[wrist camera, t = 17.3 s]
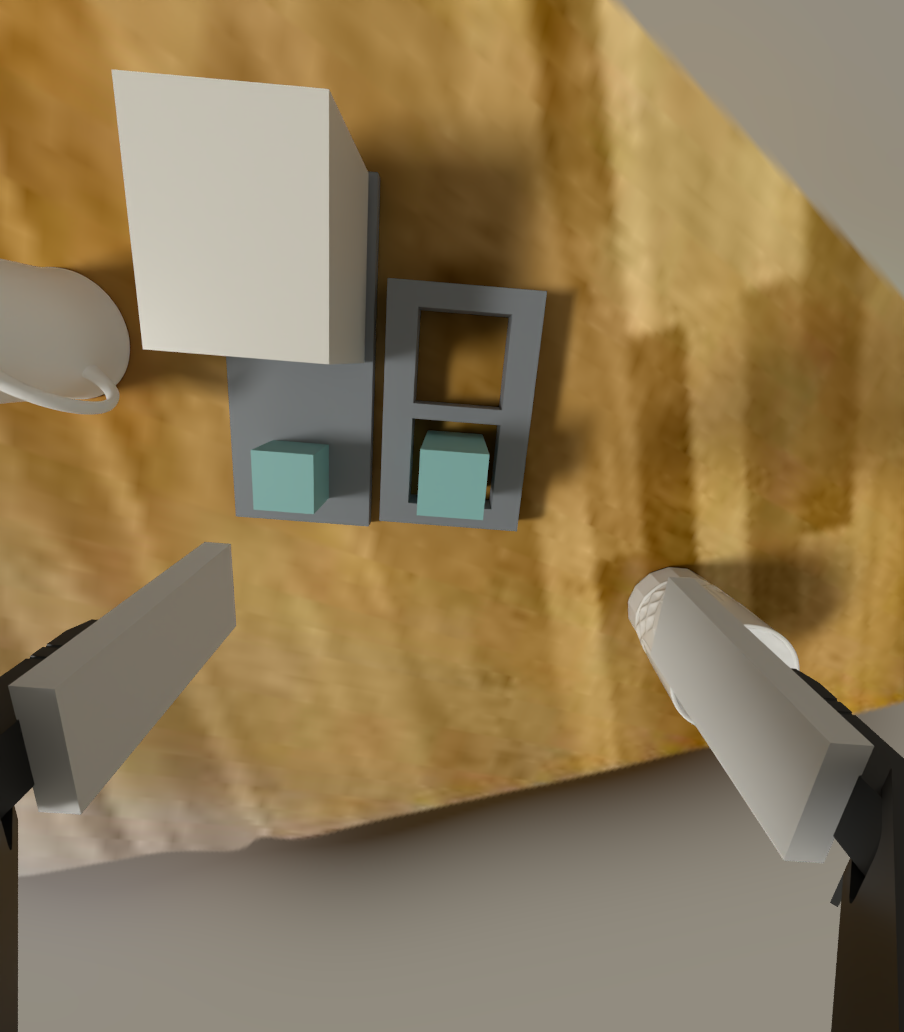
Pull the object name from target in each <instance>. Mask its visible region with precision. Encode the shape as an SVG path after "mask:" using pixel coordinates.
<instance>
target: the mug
mask: <svg viewBox="0 0 904 1032" xmlns="http://www.w3.org/2000/svg"><path fill="white" fill-rule="evenodd" d="M129 356H130V341H129V335H128V331H127V327H126V324H125V322H124V319H123V317H122V315H121V313H120V311H119V309H118V308H117V306H116V305H115V303H114V302H113V301H112V299H111V298H110V297H109V296H108V295H107V294H106V292H105V291H104V290H102V289H101V288H100V287H99V286H98V285H97V284H95V283H94V282H93V281H91V280H90V279H88V278H86V277H85V276H83V275H81V274H79V273H76V272H74V271H71V270H67V269H63V268H57V267H36V266H32V265H27V264H22V263H18V262H13V261H9V260H4V259H0V404H1V403H11V402H22V401H27V402H30V403H33V404H36V405H40V406H43V407H47V408H51V409H55V410H59V411H64V412H69V413H76V414H101V413H105V412H108V411H110V410H112V409H113V408H114V407H115V406H116V405H117V403H118V401H119V391H118V389H117V387H116V385H117V384H118V383H119V381H120V380H121V379H122V377H123V375H124V373H125V371H126V369H127V366H128V362H129ZM103 394H105V395H106V398H107V400H104V401H98V402H91V401H81V400H75V399H90V398H94V397H98V396H101V395H103Z"/></svg>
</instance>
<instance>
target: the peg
mask: <svg viewBox="0 0 904 1032" xmlns="http://www.w3.org/2000/svg"><path fill="white" fill-rule="evenodd" d="M489 455H490V454H489V452H488V449H487V446H486V443H485V440H484V437H483V434H473V433H460V432H447V431H434V430H428V431H427V434H426V436H425V439H424V441H423V444H422V446H421V449H420V464H419V481H418V499H417V515H420V516H433V517H446V518H460V519H473V520H483V515H484V505H485V495H486V485H487V475H488V465H489Z"/></svg>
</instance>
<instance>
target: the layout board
mask: <svg viewBox="0 0 904 1032" xmlns="http://www.w3.org/2000/svg"><path fill="white" fill-rule="evenodd" d="M368 173H369V177H368V224H367V270H366V317H365V363H353V364H318V363H306V362H293V361H281V360H269V359H256V358H244V357H232V356H226V362H227V378H228V394H229V410H230V427H231V443H232V459H233V475H234V491H235V508H236V516H239V517H253V518H266V519H279V520H292V521H305V522H318V523H331V524H344V525H357V526H369V525H370V523H371V496H372V461H373V425H374V389H375V353H376V318H377V282H378V246H379V210H380V176H379V174H378V172H368Z"/></svg>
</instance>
